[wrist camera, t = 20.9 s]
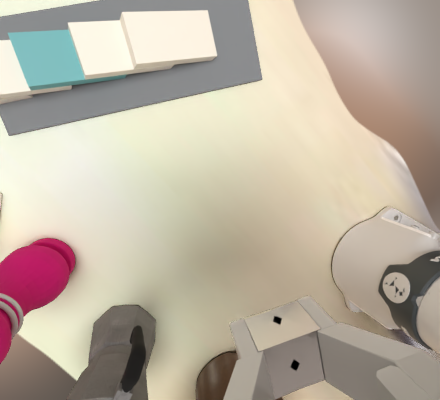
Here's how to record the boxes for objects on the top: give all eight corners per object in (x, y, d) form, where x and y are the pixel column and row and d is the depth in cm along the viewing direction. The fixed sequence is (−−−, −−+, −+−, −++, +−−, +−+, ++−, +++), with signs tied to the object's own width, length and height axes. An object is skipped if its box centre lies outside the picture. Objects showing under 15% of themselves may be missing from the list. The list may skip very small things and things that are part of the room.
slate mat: (242, -22, 33) (243, -24, 33) (261, 79, 36) (262, 79, 36) (-36, 24, 29) (-39, 23, 29) (10, 135, 32) (8, 135, 31)
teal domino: (112, 27, 30) (7, 32, 26) (126, 74, 31) (28, 86, 27) (111, 33, 31) (11, 39, 27) (124, 78, 33) (31, 90, 29)
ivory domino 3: (207, 10, 31) (121, 11, 27) (217, 55, 33) (136, 64, 28) (202, 16, 33) (119, 19, 29) (211, 60, 34) (134, 68, 30)
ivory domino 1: (54, 37, 29) (-66, 43, 25) (71, 85, 30) (-41, 99, 26) (55, 43, 30) (-58, 50, 26) (71, 89, 32) (-35, 102, 27)
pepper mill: (10, 242, 34) (-191, 368, 15) (68, 227, 35) (-51, 328, 16) (32, 291, 36) (-124, 460, 17) (87, 276, 37) (-1, 418, 18)
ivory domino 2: (162, 18, 31) (67, 22, 27) (174, 64, 32) (85, 75, 28) (158, 24, 32) (68, 29, 28) (170, 69, 33) (85, 79, 29)
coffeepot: (137, 375, 42) (116, 540, 24) (76, 360, 39) (3, 531, 22) (179, 290, 40) (189, 401, 23) (118, 268, 38) (76, 374, 20)
